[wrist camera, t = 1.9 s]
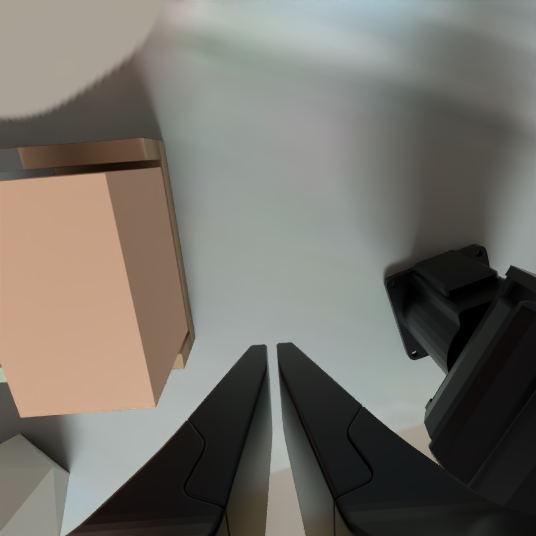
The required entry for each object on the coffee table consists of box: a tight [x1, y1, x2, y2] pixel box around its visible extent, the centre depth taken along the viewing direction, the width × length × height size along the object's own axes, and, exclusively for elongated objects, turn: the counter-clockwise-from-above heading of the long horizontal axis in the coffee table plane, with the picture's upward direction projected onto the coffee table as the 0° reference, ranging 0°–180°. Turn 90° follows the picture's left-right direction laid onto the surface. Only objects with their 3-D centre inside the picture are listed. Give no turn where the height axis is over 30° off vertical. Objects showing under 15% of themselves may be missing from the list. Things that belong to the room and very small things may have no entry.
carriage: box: [0, 167, 188, 418], centre depth 17 cm, size 6×10×7 cm, turn 4°
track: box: [0, 138, 195, 383], centre depth 20 cm, size 19×13×4 cm
